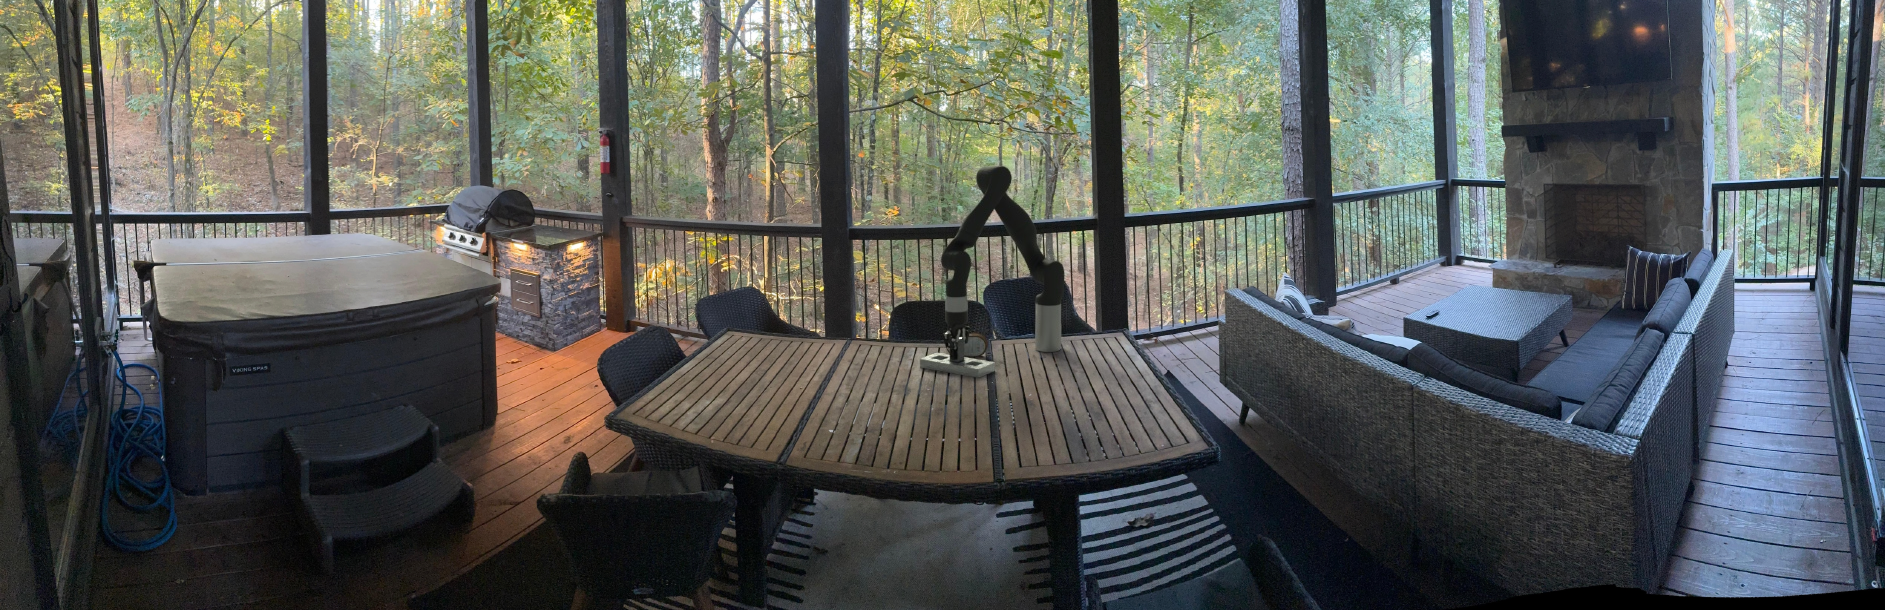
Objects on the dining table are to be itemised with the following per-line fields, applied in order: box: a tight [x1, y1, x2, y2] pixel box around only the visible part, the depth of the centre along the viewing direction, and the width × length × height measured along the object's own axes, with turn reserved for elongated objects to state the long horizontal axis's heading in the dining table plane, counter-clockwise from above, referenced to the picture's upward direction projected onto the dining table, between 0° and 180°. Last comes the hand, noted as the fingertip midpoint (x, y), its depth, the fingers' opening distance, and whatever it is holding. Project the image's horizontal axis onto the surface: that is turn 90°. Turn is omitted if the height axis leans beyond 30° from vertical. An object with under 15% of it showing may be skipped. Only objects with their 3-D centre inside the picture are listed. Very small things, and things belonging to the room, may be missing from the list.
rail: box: [919, 352, 996, 379], centre depth 308 cm, size 10×24×3 cm, turn 54°
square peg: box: [949, 339, 964, 363], centre depth 307 cm, size 4×4×9 cm
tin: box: [945, 332, 989, 358], centre depth 324 cm, size 15×3×8 cm, turn 84°
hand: (957, 358), depth 308 cm, fingers closed on square peg, 3 cm apart
